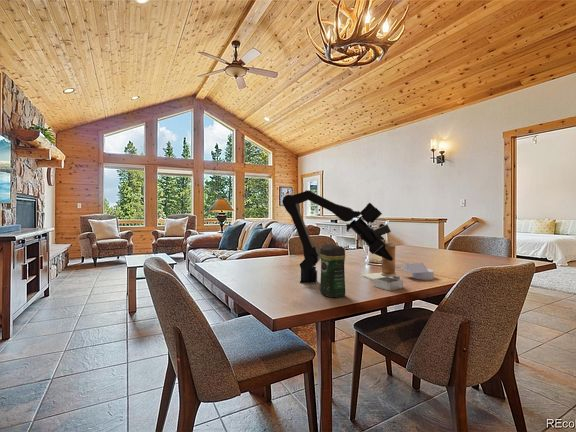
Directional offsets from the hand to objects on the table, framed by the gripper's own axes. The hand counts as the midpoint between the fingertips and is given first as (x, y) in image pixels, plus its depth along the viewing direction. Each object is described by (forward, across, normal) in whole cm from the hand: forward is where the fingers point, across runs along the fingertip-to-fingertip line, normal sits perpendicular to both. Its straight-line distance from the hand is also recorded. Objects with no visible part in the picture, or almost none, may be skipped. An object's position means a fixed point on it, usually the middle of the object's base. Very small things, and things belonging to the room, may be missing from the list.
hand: (392, 259), depth 120 cm
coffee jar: (-7, -16, +23) cm, 29 cm away
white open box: (+7, 0, +9) cm, 11 cm away
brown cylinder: (+4, 0, +6) cm, 7 cm away
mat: (+4, +16, +12) cm, 20 cm away
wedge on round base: (+17, +21, -1) cm, 27 cm away
